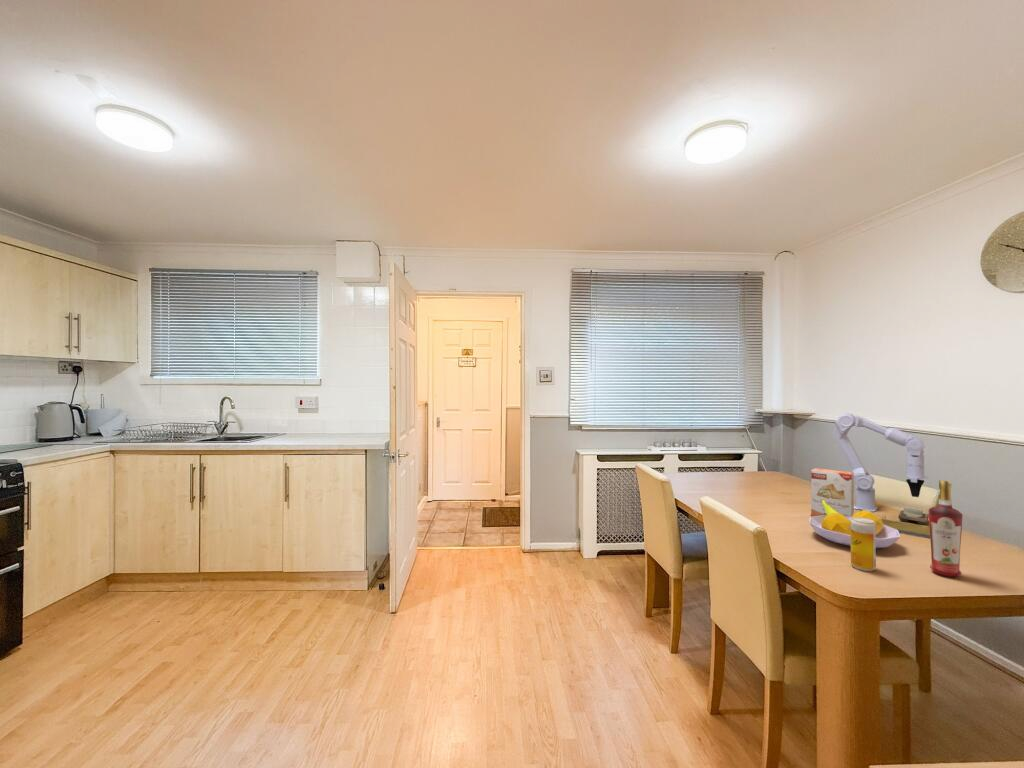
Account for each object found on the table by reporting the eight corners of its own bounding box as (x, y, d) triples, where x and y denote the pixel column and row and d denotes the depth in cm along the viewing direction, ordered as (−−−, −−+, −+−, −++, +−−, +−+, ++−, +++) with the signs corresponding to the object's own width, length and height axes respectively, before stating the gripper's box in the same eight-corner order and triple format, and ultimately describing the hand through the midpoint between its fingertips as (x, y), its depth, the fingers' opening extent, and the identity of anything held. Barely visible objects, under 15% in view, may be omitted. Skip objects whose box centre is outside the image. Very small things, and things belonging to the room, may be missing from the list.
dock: (883, 520, 185) (882, 510, 185) (942, 530, 172) (942, 519, 172) (877, 528, 174) (877, 518, 174) (941, 540, 161) (941, 529, 161)
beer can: (851, 562, 141) (851, 515, 141) (875, 567, 137) (875, 519, 137) (850, 568, 137) (850, 520, 137) (875, 573, 133) (875, 524, 133)
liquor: (961, 573, 133) (961, 481, 133) (963, 582, 127) (963, 485, 127) (928, 567, 138) (927, 477, 138) (929, 574, 132) (928, 481, 132)
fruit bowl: (918, 560, 143) (917, 525, 143) (820, 550, 152) (820, 517, 152) (878, 532, 170) (878, 503, 170) (796, 525, 178) (796, 497, 178)
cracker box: (810, 518, 188) (810, 469, 188) (813, 515, 192) (813, 467, 193) (851, 525, 178) (851, 473, 178) (854, 522, 183) (853, 471, 183)
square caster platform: (900, 516, 190) (900, 504, 190) (928, 521, 184) (928, 508, 184) (897, 521, 183) (897, 509, 183) (927, 526, 177) (926, 513, 177)
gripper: (926, 468, 182) (926, 501, 182) (928, 464, 193) (929, 495, 193) (904, 466, 188) (904, 498, 188) (907, 462, 198) (907, 492, 198)
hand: (915, 496), depth 190 cm, fingers closed
